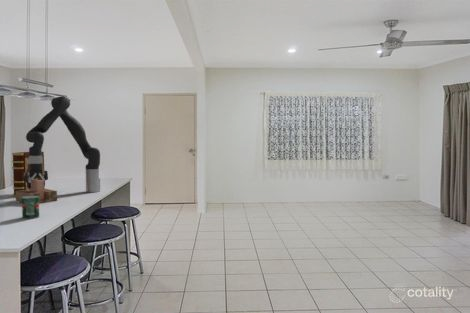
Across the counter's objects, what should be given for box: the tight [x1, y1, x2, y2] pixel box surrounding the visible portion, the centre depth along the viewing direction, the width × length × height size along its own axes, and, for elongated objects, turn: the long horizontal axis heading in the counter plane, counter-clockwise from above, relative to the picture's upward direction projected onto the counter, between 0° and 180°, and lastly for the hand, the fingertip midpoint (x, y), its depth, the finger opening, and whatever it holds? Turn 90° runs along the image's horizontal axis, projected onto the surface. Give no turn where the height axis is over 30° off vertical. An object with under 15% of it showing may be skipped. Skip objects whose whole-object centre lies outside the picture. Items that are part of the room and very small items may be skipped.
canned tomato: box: [21, 196, 40, 220], centre depth 188 cm, size 8×8×11 cm
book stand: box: [15, 188, 58, 204], centre depth 231 cm, size 16×20×6 cm
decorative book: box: [11, 151, 46, 198], centre depth 253 cm, size 22×8×30 cm, turn 168°
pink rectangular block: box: [29, 179, 44, 200], centre depth 231 cm, size 4×11×12 cm, turn 56°
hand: (36, 187), depth 231 cm, fingers open, 8 cm apart
